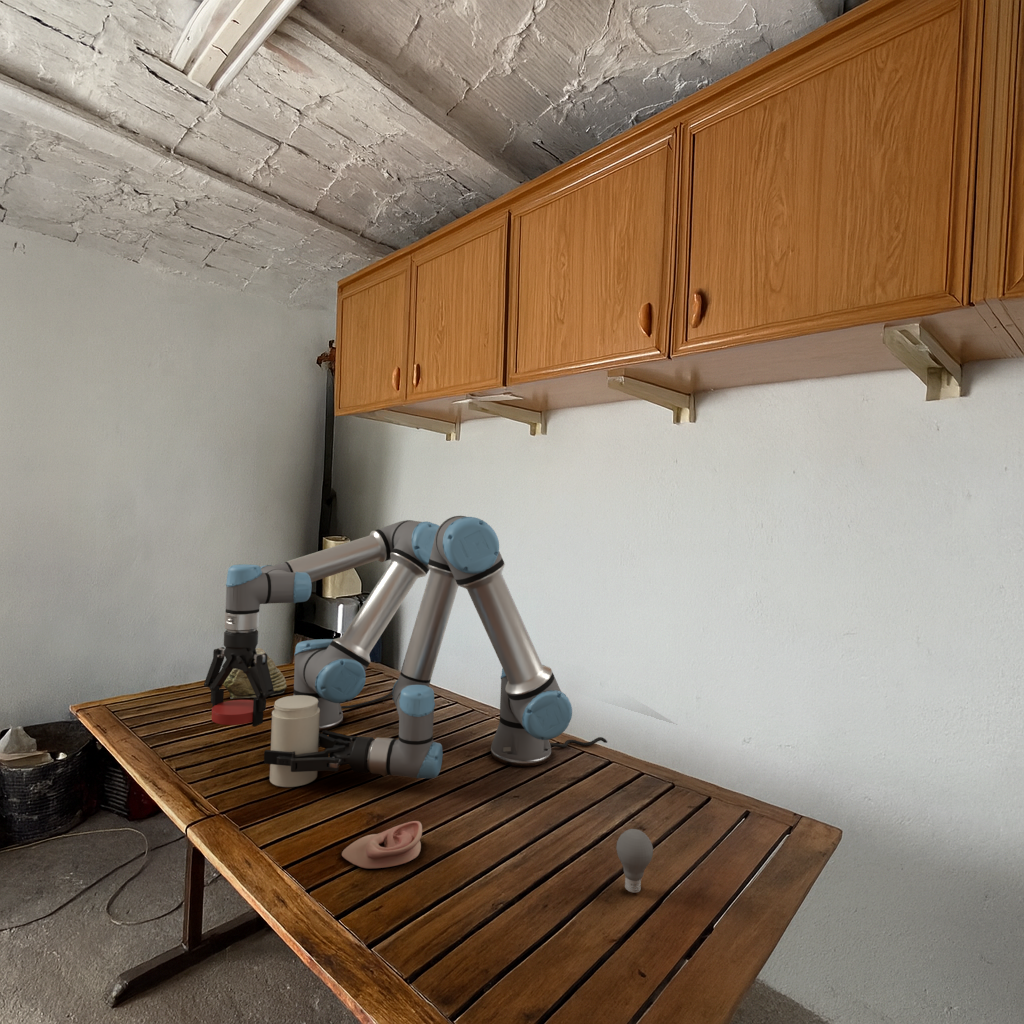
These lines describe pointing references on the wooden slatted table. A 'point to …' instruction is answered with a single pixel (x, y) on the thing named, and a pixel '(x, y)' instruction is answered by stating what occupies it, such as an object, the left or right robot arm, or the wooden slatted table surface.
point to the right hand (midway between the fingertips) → (276, 747)
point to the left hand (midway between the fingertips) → (237, 720)
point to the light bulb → (634, 857)
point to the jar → (294, 736)
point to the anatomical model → (386, 847)
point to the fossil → (241, 685)
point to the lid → (233, 712)
